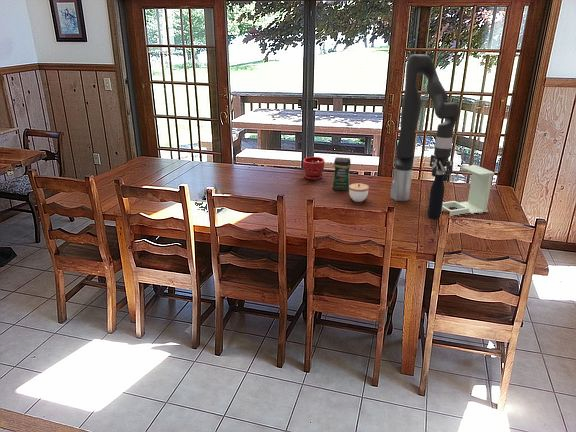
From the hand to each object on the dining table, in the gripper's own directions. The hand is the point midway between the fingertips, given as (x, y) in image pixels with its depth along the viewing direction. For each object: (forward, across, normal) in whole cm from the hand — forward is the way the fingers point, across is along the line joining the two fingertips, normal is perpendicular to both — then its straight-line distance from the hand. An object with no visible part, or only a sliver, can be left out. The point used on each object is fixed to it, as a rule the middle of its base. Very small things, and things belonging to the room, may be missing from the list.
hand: (439, 178), depth 218 cm
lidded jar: (+20, -34, -25) cm, 47 cm away
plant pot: (+19, -78, -34) cm, 88 cm away
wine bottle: (+20, 0, 0) cm, 20 cm away
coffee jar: (+19, -54, -26) cm, 63 cm away
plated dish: (+19, -59, -102) cm, 119 cm away
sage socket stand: (+20, -3, +18) cm, 27 cm away
